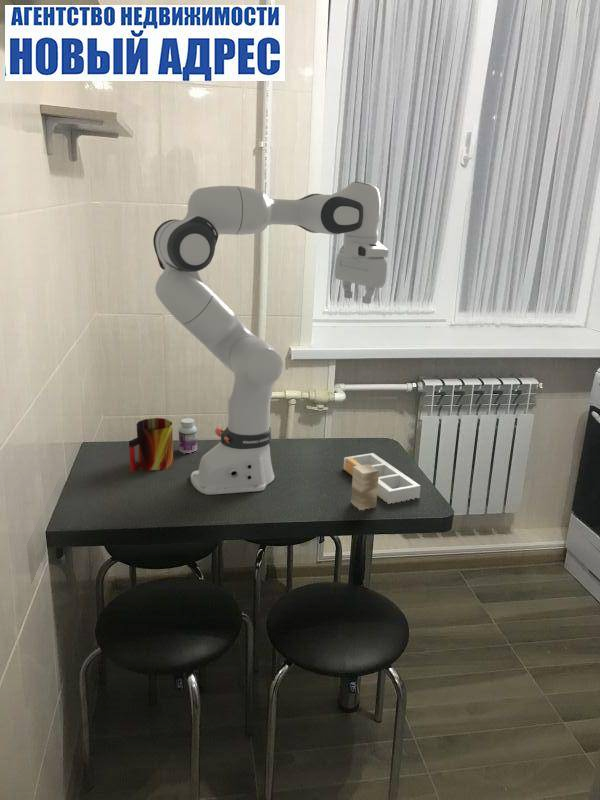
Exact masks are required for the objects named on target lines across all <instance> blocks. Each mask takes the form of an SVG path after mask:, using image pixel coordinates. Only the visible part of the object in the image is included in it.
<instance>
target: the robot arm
mask: <svg viewBox="0 0 600 800" xmlns="http://www.w3.org/2000/svg"><path fill="white" fill-rule="evenodd" d="M380 217H381V196H380V190H379V189H378V188H377V187H376V186H375V185H374V184H371V183H367V182H362V181H352V182H350V184H349V185H348V186H346V187H344V188H342V189H341V190H339V191H337V192H334V193H332V194H321V193H310V194H308V195H306V196H304V197H300V198H298V199H279V198H271V197H268V196H267V193H266V192H264V190H261V189H256V188H252V187H249V186H248V187H247V186H242V185H241V186H239V185H217V186H214V185H213V186H207V187H200V188H197V189H196V190H194V191H193V192H192V193H191V195H190V196H189V199H188V203H187V212H186V215H185V217H183V219H175V218H174V219H169V220H166V221H164V222H163V223H161V224H160V225H158V227H157V228H156V230H155V232H154V235H153V239H152V242H153V249H154V252H155V254H156V255H155V256H156V258H157V261H158V265H159V267H160V268H161V269H162V270H164V271H163V272H162V273H161V275H160V276H159V277H158V279H157V280H156V283H155V287H154V288H155V289H154V290H155V291H154V292H155V294H156V296H157V298H158V300H159V301H160V302H161V303H162V305H163V306H164V307H165V309H166V310H167V311H168V312H169V313H170V314H171V315H172V316H173V317H174V319H175V320H176V321H178V323H179V324H181V325H182V326H183V327H184V328H185V330H187V331H188V332H189V333H190V334H192V335H193V336H194V337H195V338H196V340H198V341H199V342H200V343H201V344H202V345H203V346H205V348H206V349H208V351H209V352H210V353H212V355H213V356H214V357H216V358H217V359H218V360H219V361H220V362H221V363H222V364H223V365H224V366H225V367H227V369H228V370H230V371H231V372H232V373H233V376H234V383H233V388H232V392H231V395H230V396H229V398H228V400H227V427H226V428H225V429H224V430H223V429H222V428H221V427H216V428H215V431H214V432H215V435H217V437H219V438H220V442H218V443H217V444H216V445H215V446H214V447H212V448H211V449H210V450H208V451H207V452H205V453H204V454H203V455H202V457H201V458H200V462H199V468H198V470H194V471H192V472H191V474H190V482H191V484H192V486H193V487H194V488H195V489H196V490H197V491H198V492H200V493H202V494H204V495H222V494H223V495H224V494H236V493H238V494H239V493H250V492H261V491H264V490H265V489H266V487H267V486H268V485H269V484H270V483H271V484H272V482H273V481H274V480H275V473H274V469H273V464H272V458H271V445H272V428H271V425H270V423H271V421H270V419H271V418H270V417H271V402H272V401H271V400H272V394H273V390H274V388H275V383H276V382H277V381H278V380H279V378H280V377H281V375H282V373H283V370H284V369H283V368H284V365H283V364H284V363H283V359H282V357H281V354H279V352H278V350H277V349H276V348H275V346H273V345H272V344H271V343H269V342H267V341H266V340H263V339H261V338H260V337H258V336H257V335H255V334H254V333H253V332H252V331H250V330H249V328H248V327H247V326H246V325H245V324H244V323H243V322H242V320H241V319H240V318H239V317H238V316H237V315H236V313H235V311H233V309H232V308H231V307H229V306H228V305H227V303H226V302H225V301H223V300H222V298H221V297H219V296H218V295H217V293H216V292H214V291H213V290H212V289H211V288H210V287H209V286H208V285H207V284H206V283H205V282H204V280H202V278H201V277H200V274H199V271H202V270H203V269H205V268H206V267H208V265H210V264H211V262H212V261H213V258H214V255H215V251H216V245H217V242H218V239H219V235H238V236H239V235H240V236H241V235H253V234H259V233H262V232H263V231H264V230H266V228H267V227H268V226H270V225H280V226H281V225H283V226H284V225H288V226H289V225H290V226H292V225H293V226H297V227H299V228H301V229H303V230H305V231H307V232H309V233H313V234H327V235H333V236H334V235H336V236H337V235H341V234H344V235H343V236H344V239H343V245H342V246H341V248H340V249H339V251H338V253H337V254H336V255H337V256H336V261H335V265H334V278H335V279H336V280H339V281H341V282H342V283H341V286H342V288H343V291H344V292H343V293H344V294H343V296H344V298H345V299H352V298H353V293H354V292H353V291H352V287H351V285H352V284H356V285H360V286H364V287H365V288H364V290H365V294H364V296H362V303H363V304H369V305H370V304H371V303H372V297H373V295H374V293H375V291H376V289H379V288H380V289H381V288H383V287H384V286H385V284H386V281H387V272H388V270H387V269H388V263H387V258H388V257H389V249H388V248H387V247H385V245H383V244H382V243H381V242H380V241H379V232H378V226H379V222H380V219H381V218H380Z"/></svg>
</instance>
